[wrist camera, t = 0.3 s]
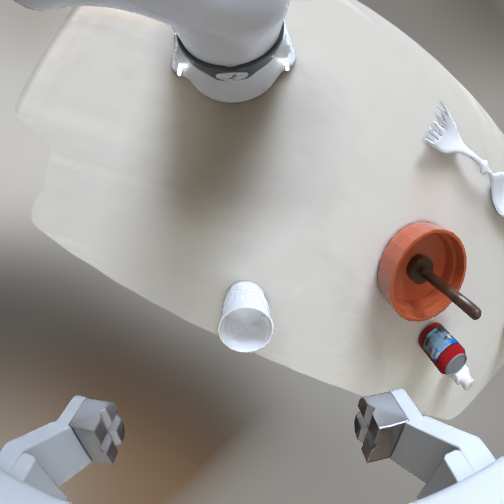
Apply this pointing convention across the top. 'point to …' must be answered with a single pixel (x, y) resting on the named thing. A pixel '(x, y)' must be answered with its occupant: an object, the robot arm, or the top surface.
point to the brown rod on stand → (439, 284)
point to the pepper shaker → (463, 378)
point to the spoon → (451, 142)
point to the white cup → (245, 318)
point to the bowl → (445, 266)
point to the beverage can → (443, 349)
